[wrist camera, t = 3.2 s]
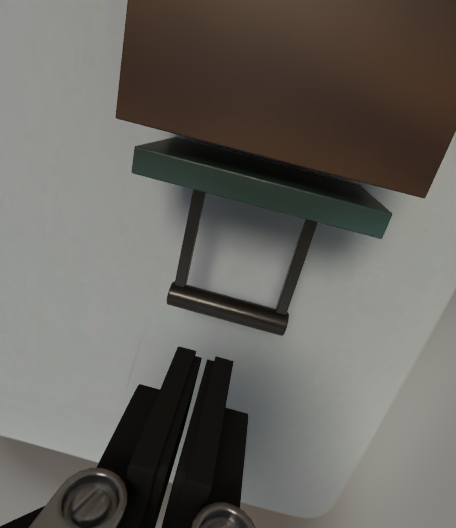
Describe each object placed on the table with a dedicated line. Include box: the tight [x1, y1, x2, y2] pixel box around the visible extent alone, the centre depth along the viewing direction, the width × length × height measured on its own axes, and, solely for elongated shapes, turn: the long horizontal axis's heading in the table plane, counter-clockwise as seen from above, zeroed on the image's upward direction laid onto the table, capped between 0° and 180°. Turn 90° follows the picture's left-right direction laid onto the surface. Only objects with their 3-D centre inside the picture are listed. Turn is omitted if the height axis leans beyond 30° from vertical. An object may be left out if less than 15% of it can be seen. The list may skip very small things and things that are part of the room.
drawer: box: [132, 137, 392, 336], centre depth 18 cm, size 21×11×7 cm, turn 167°
